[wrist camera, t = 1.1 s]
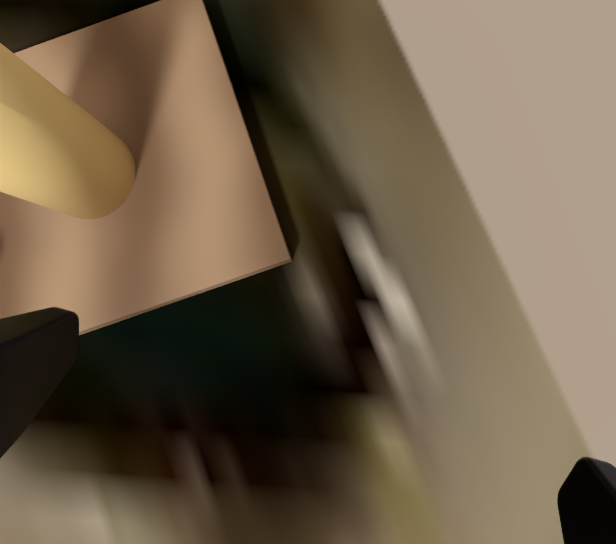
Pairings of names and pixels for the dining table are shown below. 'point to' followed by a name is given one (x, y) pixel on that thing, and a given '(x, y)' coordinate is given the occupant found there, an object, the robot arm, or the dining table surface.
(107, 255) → the board
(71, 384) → the dining table surface
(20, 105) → the post
